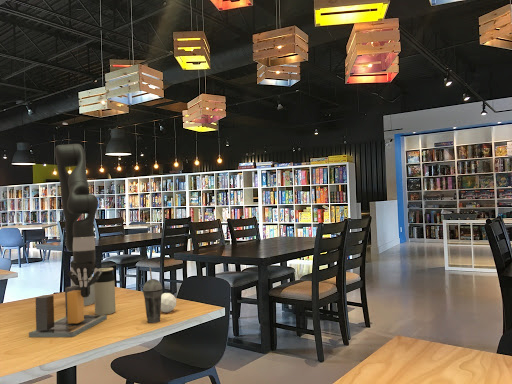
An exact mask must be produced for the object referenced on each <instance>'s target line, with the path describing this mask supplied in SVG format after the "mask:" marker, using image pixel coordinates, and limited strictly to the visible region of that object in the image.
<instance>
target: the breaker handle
mask: <svg viewBox="0 0 512 384" xmlns="http://www.w3.org/2000/svg"><path fill="white" fill-rule="evenodd" d="M84 315H85V306H84V297H82V296H81V290H73V291H70V292H67V316H68V323H80V322H82V321H84Z"/></svg>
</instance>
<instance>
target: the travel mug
mask: <svg viewBox="0 0 512 384" xmlns="http://www.w3.org/2000/svg"><path fill="white" fill-rule="evenodd" d="M97 269H98V270H102V274H101V275H100V277H99V278H98V279H97V281H96V282H95V284H94V299H95V303H94V315H111V314H114V313H115V312H116V287H115V281H116V280H115V274H114V273H113V272H114V268H113V267H103V268H97Z"/></svg>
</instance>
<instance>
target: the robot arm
mask: <svg viewBox="0 0 512 384" xmlns="http://www.w3.org/2000/svg"><path fill="white" fill-rule="evenodd" d="M54 155H55V156H54V157H55V161H56V166H57V173H58V177H59V184H60V196H61V204H62V205H61V206H62V212H63V218H64V225H65V226H64V227H65V229H64V230H65V245H66V249H67V251H68V252H70V253H72V260H71V261H70V263H69V264H70V271H68V272H67V273H66V274H67V276H68V277H69V278H70V286H80V287H81V296H82V297H84V307H86V306H90V305H92V304H95V299H94V284H95V282H96V281H97V279H98V278H99V277H100V275H101V274H102V270H98V269H99V268H97V264H96V243H95V242H96V240H95V228H94V226H95V225H94V224H95V219H96V214H97V210H98V207H99V199H98V198H97V196H96V195H95V194H90V186H89V182H88V177H87V161H86V153H85V150H84V147H83V145H81V144H80V143H70V144H59V145H56V146H55V149H54ZM68 167H69V168H70V167H71V168H72V167H75V168H74V169H73V170H72V171H71V172H70V173H69V172H68V170H67V168H68ZM83 214H84V215H86V214H87V215H86V217H84V218H83V219H80V217H81V216H82V215H83ZM79 219H80V220H79Z"/></svg>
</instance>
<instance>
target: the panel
mask: <svg viewBox="0 0 512 384" xmlns="http://www.w3.org/2000/svg"><path fill="white" fill-rule="evenodd" d="M73 290H81V287H80V286H71V285H70V286H68V287H65V288H64V297H65V302H64V303H65V316H63V317H61V318H58V319H57V320H55V306H54V305H55V302H54V297H55V296H54V294H53V295H52V294H51V295H49V294H47V295H40V296H37V297H35V329H34V330H31V331H30V332H28V337H29V338H74V337H75V336H77V335H79V334H82V333H83V332H85V331H87V330H89V329H91V328H93V327H94V326H96V325H98V324H100V323H102V322H103V321H106V320H107V319H108V316H107V315H96V314H84V321H82V322H80V323H68V316H67V292H70V291H73Z"/></svg>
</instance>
